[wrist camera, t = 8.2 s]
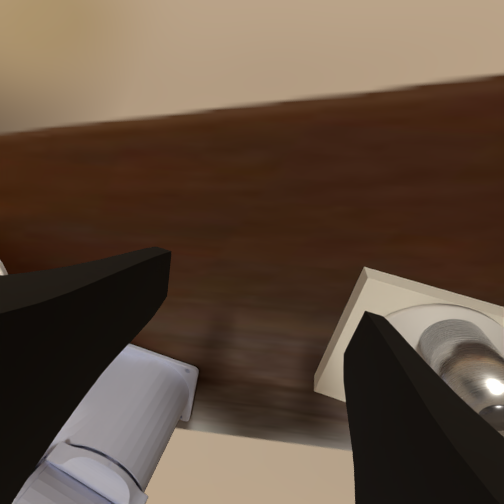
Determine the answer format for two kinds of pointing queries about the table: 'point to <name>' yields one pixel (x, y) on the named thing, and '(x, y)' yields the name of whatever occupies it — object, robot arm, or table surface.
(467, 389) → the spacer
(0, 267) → the white phone stand
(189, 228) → the table surface
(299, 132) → the table surface
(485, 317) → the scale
